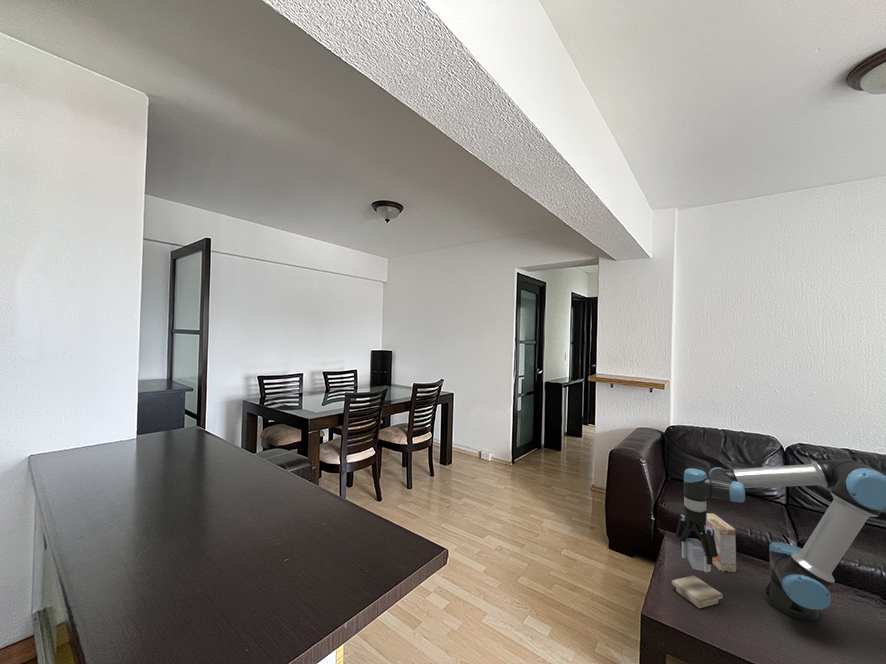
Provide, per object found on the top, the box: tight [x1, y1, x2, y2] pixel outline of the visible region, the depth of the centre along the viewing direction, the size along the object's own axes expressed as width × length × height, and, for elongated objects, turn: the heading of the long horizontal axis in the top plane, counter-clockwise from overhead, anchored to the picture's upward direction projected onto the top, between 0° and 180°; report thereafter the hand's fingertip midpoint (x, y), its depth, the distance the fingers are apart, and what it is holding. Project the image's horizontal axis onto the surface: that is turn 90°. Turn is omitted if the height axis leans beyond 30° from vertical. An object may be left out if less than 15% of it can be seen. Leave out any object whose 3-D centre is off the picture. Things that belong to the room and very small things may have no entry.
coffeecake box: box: [699, 512, 737, 573], centre depth 168 cm, size 15×7×20 cm, turn 174°
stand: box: [671, 574, 723, 609], centre depth 145 cm, size 12×12×4 cm
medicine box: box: [685, 537, 705, 572], centre depth 145 cm, size 8×4×9 cm, turn 161°
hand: (695, 563), depth 145 cm, fingers closed on medicine box, 9 cm apart
